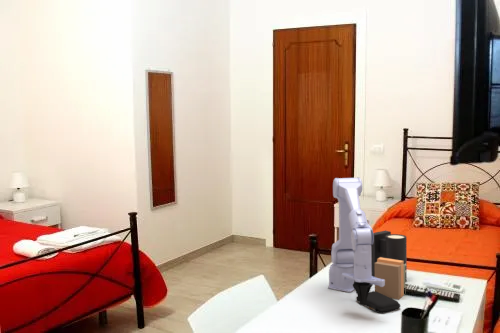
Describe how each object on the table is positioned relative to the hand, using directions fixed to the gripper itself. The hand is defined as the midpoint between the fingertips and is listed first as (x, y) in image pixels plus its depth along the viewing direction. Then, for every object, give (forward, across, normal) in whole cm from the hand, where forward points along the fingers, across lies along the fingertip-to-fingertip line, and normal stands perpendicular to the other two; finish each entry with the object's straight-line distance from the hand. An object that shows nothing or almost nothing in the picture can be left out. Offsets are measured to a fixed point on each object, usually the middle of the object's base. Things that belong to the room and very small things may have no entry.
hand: (363, 303), depth 171 cm
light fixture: (+4, -7, +41) cm, 42 cm away
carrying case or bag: (+4, 0, +11) cm, 12 cm away
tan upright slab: (+4, 0, +24) cm, 24 cm away
